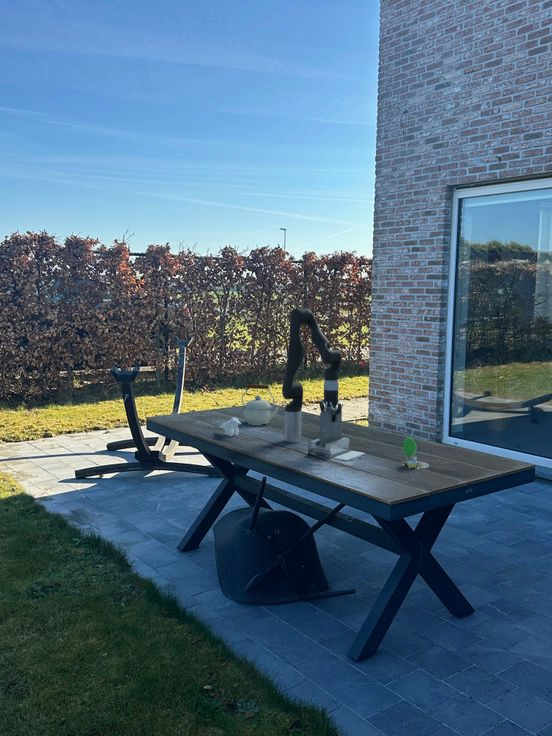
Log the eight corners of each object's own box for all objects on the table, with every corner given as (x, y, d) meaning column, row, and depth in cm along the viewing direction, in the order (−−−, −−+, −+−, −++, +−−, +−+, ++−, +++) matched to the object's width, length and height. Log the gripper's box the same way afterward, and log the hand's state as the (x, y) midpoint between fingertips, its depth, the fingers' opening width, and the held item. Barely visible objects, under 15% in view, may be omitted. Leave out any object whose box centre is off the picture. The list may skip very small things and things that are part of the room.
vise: (307, 454, 322) (307, 441, 322) (328, 447, 338) (328, 434, 337) (329, 458, 314) (329, 445, 313) (349, 451, 329) (350, 438, 329)
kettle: (236, 424, 397) (236, 385, 394) (246, 419, 414) (246, 382, 412) (274, 427, 390) (274, 387, 387) (282, 421, 407) (283, 383, 404)
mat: (333, 458, 314) (333, 457, 314) (352, 451, 328) (352, 450, 328) (347, 461, 309) (347, 460, 309) (365, 454, 324) (365, 453, 324)
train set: (420, 442, 292) (394, 438, 301) (419, 471, 293) (393, 465, 303) (436, 437, 303) (411, 433, 312) (435, 465, 304) (410, 459, 314)
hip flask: (322, 447, 319) (323, 408, 317) (316, 446, 322) (317, 407, 320) (342, 442, 330) (343, 405, 328) (336, 441, 333) (337, 404, 331)
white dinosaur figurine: (237, 438, 355) (235, 418, 355) (214, 435, 374) (212, 416, 374) (246, 436, 360) (245, 417, 359) (223, 433, 378) (222, 415, 378)
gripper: (315, 388, 324) (314, 420, 326) (338, 390, 315) (338, 424, 317) (323, 386, 330) (322, 418, 332) (346, 389, 321) (346, 422, 323)
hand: (330, 421), depth 325 cm, fingers closed on hip flask, 4 cm apart
